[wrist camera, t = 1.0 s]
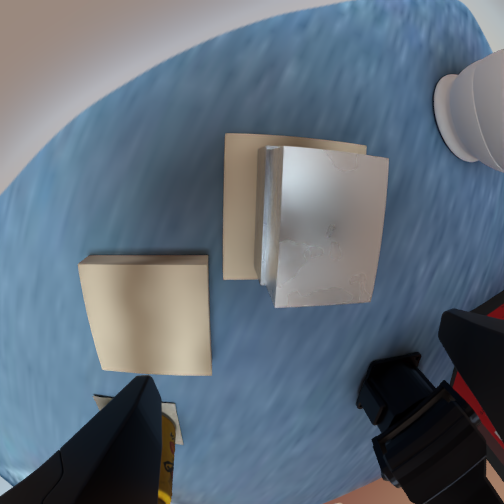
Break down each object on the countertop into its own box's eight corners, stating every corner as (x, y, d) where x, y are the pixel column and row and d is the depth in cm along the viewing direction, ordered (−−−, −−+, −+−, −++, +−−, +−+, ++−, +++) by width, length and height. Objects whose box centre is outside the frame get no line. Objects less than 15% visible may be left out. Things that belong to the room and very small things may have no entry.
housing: (340, 155, 17) (392, 154, 11) (330, 265, 19) (373, 305, 13) (257, 149, 16) (278, 140, 10) (253, 266, 18) (270, 311, 13)
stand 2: (353, 146, 19) (366, 145, 17) (342, 267, 21) (353, 276, 19) (224, 136, 18) (225, 133, 16) (222, 268, 20) (223, 279, 18)
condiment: (183, 443, 26) (181, 536, 14) (112, 436, 25) (92, 520, 13) (175, 401, 24) (165, 513, 12) (93, 393, 23) (58, 489, 11)
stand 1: (208, 255, 20) (207, 264, 18) (211, 360, 22) (211, 375, 20) (88, 255, 19) (77, 264, 17) (109, 355, 21) (102, 369, 19)
